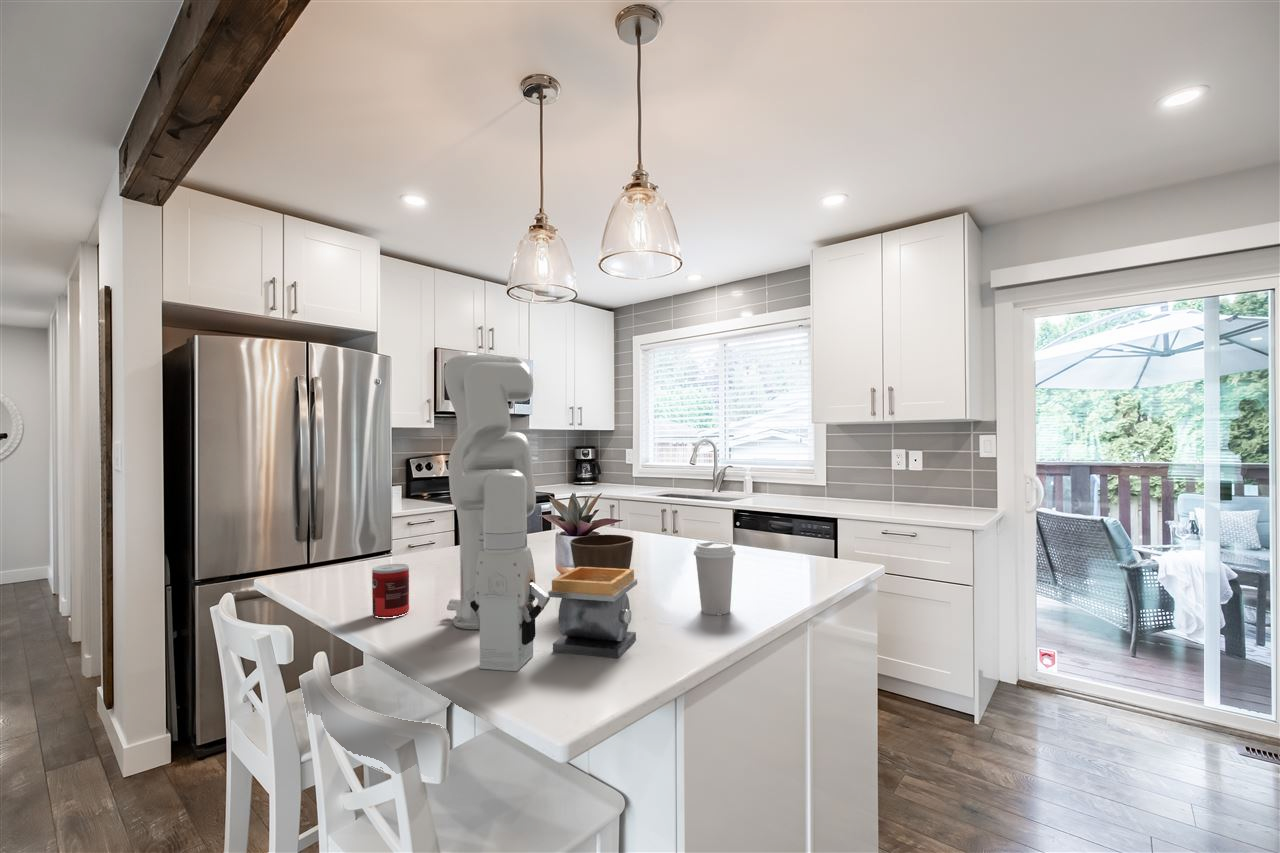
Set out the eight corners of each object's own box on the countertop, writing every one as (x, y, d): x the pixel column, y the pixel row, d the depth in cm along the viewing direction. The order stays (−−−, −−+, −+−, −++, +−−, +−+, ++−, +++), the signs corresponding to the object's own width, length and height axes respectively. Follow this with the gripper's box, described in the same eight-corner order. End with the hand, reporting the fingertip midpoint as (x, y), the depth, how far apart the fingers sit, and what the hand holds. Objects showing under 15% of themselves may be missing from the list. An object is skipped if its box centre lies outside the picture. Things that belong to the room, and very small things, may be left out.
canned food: (384, 609, 138) (384, 563, 139) (415, 610, 137) (415, 563, 138) (365, 619, 131) (364, 570, 131) (398, 620, 130) (397, 570, 130)
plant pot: (623, 619, 127) (622, 546, 127) (560, 615, 131) (559, 544, 131) (642, 601, 141) (640, 535, 142) (584, 597, 145) (583, 533, 146)
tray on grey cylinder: (549, 654, 106) (548, 580, 107) (578, 632, 119) (577, 565, 119) (618, 661, 102) (616, 584, 103) (640, 637, 115) (639, 569, 115)
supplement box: (518, 672, 99) (517, 597, 99) (478, 669, 100) (477, 596, 100) (535, 656, 106) (533, 586, 106) (497, 654, 107) (496, 585, 108)
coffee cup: (713, 602, 138) (711, 539, 139) (745, 610, 131) (743, 544, 132) (686, 611, 132) (684, 545, 132) (718, 620, 125) (716, 550, 125)
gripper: (451, 543, 103) (452, 643, 102) (539, 546, 97) (541, 652, 97) (475, 536, 110) (477, 629, 109) (559, 539, 104) (560, 637, 104)
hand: (507, 639), depth 103 cm, fingers closed on supplement box, 7 cm apart
